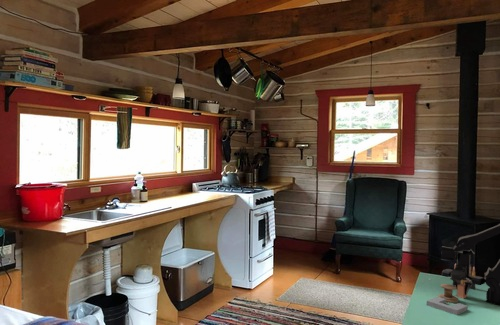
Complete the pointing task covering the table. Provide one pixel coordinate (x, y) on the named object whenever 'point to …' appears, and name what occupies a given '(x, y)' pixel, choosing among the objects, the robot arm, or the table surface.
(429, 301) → the notched board
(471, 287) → the ammunition clip
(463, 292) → the tab
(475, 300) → the table surface
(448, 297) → the brown door knob
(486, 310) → the table surface
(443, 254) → the robot arm
